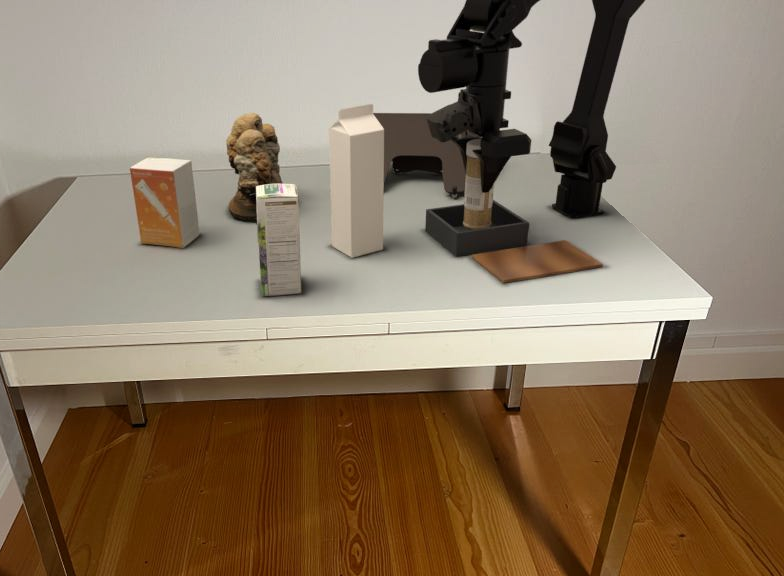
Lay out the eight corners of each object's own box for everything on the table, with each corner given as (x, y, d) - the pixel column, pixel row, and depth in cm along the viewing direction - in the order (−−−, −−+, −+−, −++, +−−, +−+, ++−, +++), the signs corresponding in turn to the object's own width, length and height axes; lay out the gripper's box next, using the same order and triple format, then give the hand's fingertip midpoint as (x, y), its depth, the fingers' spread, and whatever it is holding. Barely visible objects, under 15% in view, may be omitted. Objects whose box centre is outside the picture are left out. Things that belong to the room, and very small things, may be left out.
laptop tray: (353, 219, 148) (349, 185, 141) (369, 139, 160) (366, 104, 153) (473, 224, 144) (475, 188, 136) (479, 141, 155) (482, 104, 148)
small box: (140, 244, 126) (128, 167, 119) (159, 231, 131) (148, 156, 124) (183, 249, 124) (173, 170, 117) (201, 235, 129) (192, 159, 122)
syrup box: (260, 280, 111) (253, 184, 104) (300, 277, 112) (295, 181, 104) (261, 297, 107) (254, 197, 99) (303, 294, 107) (298, 194, 99)
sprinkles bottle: (497, 226, 120) (504, 141, 114) (476, 233, 118) (482, 147, 112) (476, 218, 124) (482, 136, 117) (456, 225, 122) (460, 141, 115)
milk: (383, 250, 120) (385, 107, 108) (350, 258, 117) (350, 113, 106) (362, 238, 124) (362, 99, 113) (330, 246, 122) (327, 105, 110)
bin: (491, 221, 128) (493, 199, 126) (527, 245, 118) (529, 222, 117) (425, 231, 126) (425, 209, 124) (455, 256, 116) (457, 233, 114)
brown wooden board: (564, 243, 119) (565, 240, 119) (602, 267, 110) (603, 263, 110) (471, 257, 115) (471, 254, 115) (503, 283, 107) (503, 280, 107)
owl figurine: (287, 224, 131) (281, 124, 122) (220, 224, 132) (210, 126, 124) (299, 191, 146) (294, 100, 138) (239, 192, 148) (231, 102, 139)
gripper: (409, 77, 116) (407, 177, 124) (463, 101, 100) (456, 213, 108) (476, 70, 118) (469, 169, 126) (538, 93, 103) (526, 203, 111)
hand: (478, 187), depth 118 cm, fingers closed on sprinkles bottle, 4 cm apart
